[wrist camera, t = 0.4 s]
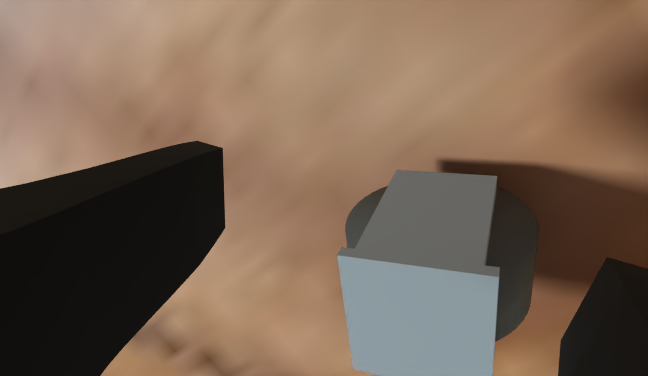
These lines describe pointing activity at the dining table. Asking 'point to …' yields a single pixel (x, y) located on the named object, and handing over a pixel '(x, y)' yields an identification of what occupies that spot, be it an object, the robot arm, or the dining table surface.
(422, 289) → the castor
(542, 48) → the dining table surface
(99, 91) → the dining table surface
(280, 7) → the dining table surface
